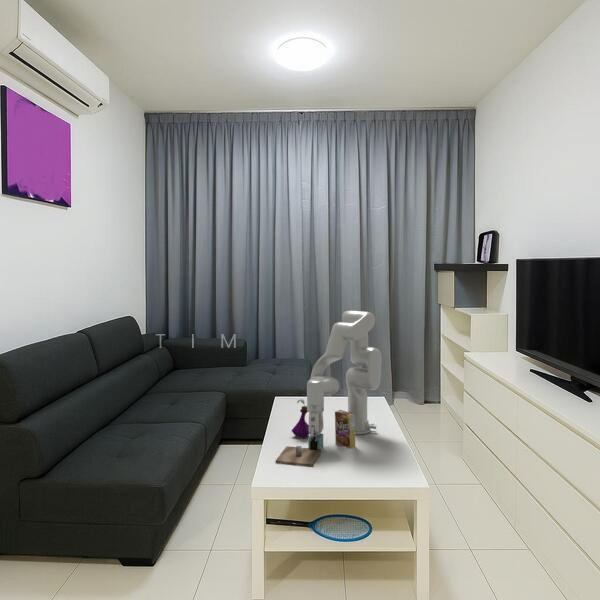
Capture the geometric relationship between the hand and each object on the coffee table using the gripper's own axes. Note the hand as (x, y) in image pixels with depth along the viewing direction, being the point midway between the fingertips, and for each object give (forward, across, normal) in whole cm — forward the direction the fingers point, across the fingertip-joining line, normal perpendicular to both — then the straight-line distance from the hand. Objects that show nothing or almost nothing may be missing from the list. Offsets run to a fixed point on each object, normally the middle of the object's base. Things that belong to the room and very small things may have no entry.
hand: (315, 446), depth 206 cm
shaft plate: (+1, -10, +5) cm, 12 cm away
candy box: (+1, +8, -12) cm, 14 cm away
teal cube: (+1, 0, 0) cm, 1 cm away
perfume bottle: (+1, +14, +10) cm, 17 cm away
